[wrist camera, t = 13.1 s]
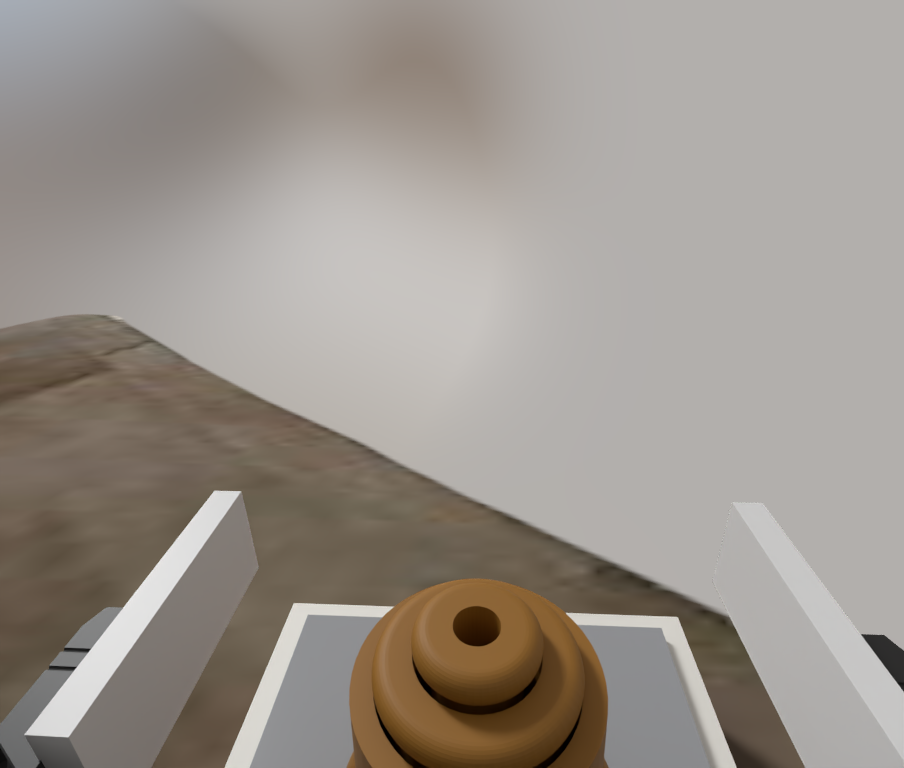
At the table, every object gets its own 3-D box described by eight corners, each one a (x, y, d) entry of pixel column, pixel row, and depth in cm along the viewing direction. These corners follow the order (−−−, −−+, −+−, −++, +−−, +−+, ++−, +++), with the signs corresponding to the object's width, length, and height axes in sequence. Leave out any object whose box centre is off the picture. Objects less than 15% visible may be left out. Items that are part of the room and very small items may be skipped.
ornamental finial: (679, 989, 12) (338, 1093, 11) (557, 684, 19) (340, 726, 17) (757, 776, 8) (273, 891, 7) (574, 496, 15) (307, 533, 14)
